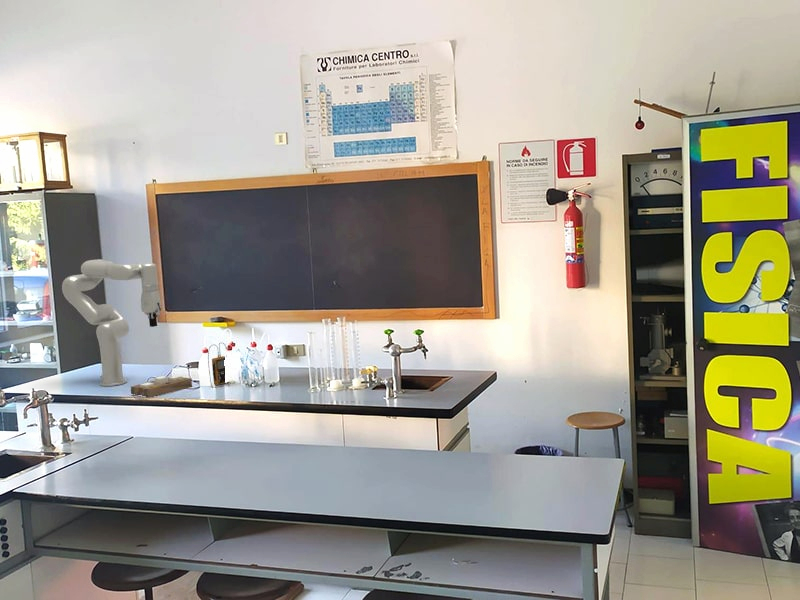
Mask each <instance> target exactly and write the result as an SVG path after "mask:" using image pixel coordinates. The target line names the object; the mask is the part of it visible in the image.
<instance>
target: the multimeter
mask: <svg viewBox="0 0 800 600" xmlns="http://www.w3.org/2000/svg"><path fill="white" fill-rule="evenodd" d="M220 344H221V342H219V344H218V346H217V345H216V344H214V346H215V347H216V348H217V349H218V351H217V357H214V358H211V366H212V377H213V385H214V384H215V385H214V386H216V388H221V387H224V385H223V384H226V383H225V366H224V360H225V356H224V355H221V347H220V346H221V345H220ZM222 344H223V345H224V347H225V350H226V349H227V346H226V344H225V343H224V342H222ZM211 347H213V344H211V345H210V346H209V348H208V351H207V361H208V362H207V364H208V367H210V360H209V359H210V357H209V356H210V355H209V354H210V349H211ZM208 372H209V375H211V371H210V369H208ZM209 380H210V382H212V379H211V376H209ZM227 384H228V385H227V386H228V387H230V383H227ZM210 385H211V387H213V385H212V383H210Z"/></svg>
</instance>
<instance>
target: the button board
mask: <svg viewBox="0 0 800 600" xmlns="http://www.w3.org/2000/svg"><path fill="white" fill-rule="evenodd" d="M172 376H173V375H171V376H170V377H172ZM144 383H145V382H142V384H144ZM146 383H154V386H151V387H147V388H145V387H140V384H141V383H140V384H136V385H135V384H134V385H132V386H130V394H135V395H142V396H146V397H145V398H148V397H152V398H155V397H154V396H156V397H159V396H163V395H166V393H167V394H170V393H174V392H177V390H178V391H181V390H185V389H188V388H192V387H193V382H192V378H190V377H183V376H182V379H178V380H169V379H168V382H166V383H163V384H157V383H155V381H154V380H152V381H147V382H146ZM184 388H185V389H184ZM180 389H181V390H180ZM173 391H174V392H173ZM169 392H170V393H169ZM162 394H163V395H162ZM135 395H134V396H135ZM158 395H159V396H158Z"/></svg>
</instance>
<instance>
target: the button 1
mask: <svg viewBox="0 0 800 600" xmlns="http://www.w3.org/2000/svg"><path fill="white" fill-rule="evenodd" d="M143 383H144V384H143ZM143 383H140V387H145V388H147V387H151V386H154V383H147V382H143Z"/></svg>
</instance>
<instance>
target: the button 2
mask: <svg viewBox="0 0 800 600" xmlns="http://www.w3.org/2000/svg"><path fill="white" fill-rule="evenodd" d="M171 376H172V377H171ZM171 376H167V377H168V379H169V380H178V379H182V377H183V376H181V375H171Z"/></svg>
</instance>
